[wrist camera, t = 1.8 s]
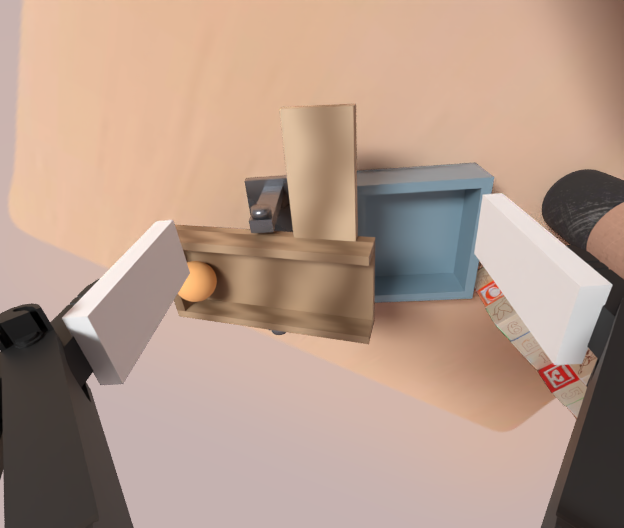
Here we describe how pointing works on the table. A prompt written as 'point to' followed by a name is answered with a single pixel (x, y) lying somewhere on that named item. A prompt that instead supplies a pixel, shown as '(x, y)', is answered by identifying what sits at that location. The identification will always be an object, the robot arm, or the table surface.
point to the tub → (423, 229)
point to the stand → (269, 206)
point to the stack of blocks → (535, 347)
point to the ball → (198, 282)
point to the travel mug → (589, 214)
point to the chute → (297, 243)
